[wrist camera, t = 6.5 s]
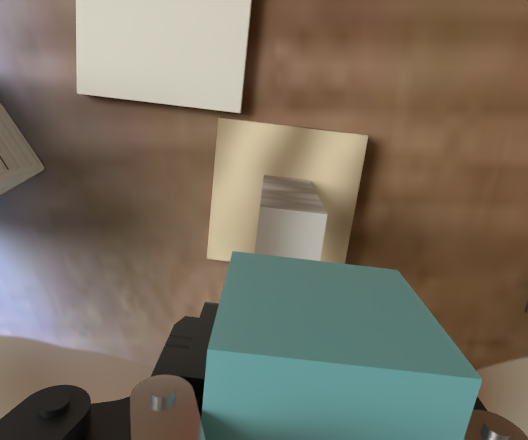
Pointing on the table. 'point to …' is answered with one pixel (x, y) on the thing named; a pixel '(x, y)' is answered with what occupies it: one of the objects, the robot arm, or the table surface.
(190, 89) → the pad
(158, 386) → the robot arm
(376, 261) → the table surface
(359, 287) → the teal cube block
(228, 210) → the post stand
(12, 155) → the supplement box
